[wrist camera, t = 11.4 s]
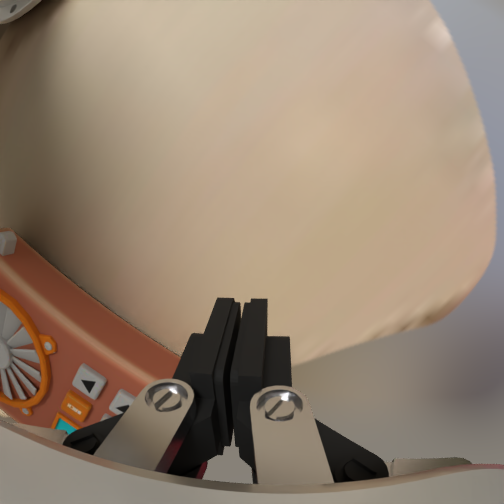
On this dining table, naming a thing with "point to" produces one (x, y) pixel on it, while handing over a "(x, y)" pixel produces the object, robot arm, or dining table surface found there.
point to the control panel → (66, 347)
